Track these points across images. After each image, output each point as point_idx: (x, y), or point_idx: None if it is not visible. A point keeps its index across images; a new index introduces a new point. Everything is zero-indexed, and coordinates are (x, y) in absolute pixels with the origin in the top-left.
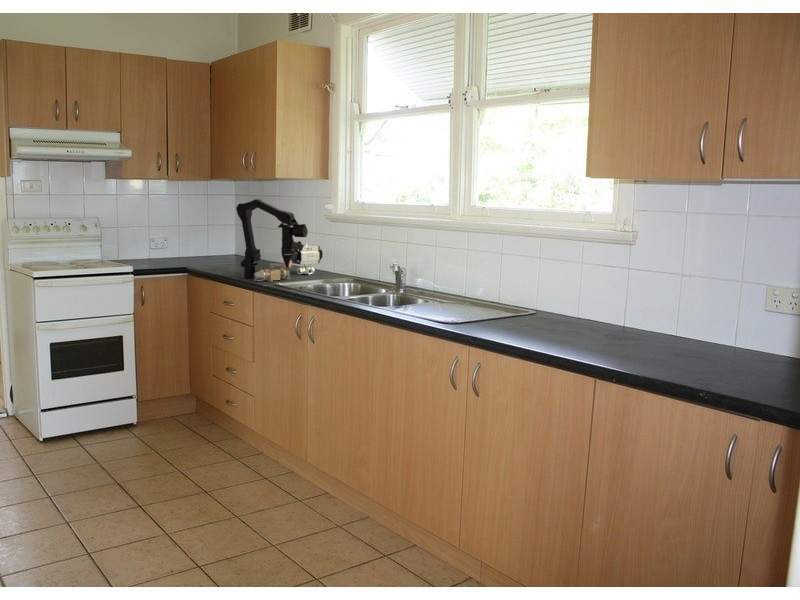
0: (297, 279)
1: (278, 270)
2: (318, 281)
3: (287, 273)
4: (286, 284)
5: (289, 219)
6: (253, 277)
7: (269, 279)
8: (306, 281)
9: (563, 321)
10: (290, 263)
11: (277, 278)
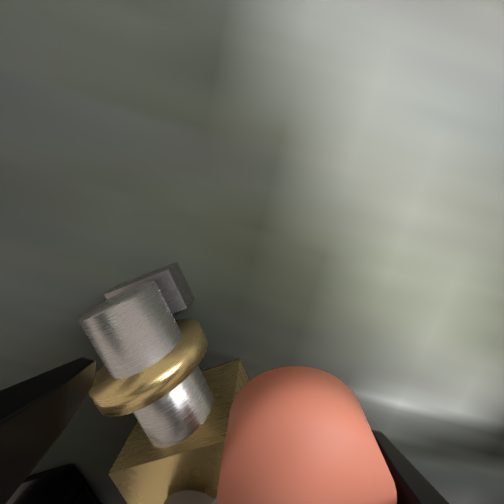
0: (190, 198)
1: None
2: (397, 8)
3: (166, 313)
4: (476, 373)
5: None
6: (89, 497)
7: None
8: (354, 150)
9: None
10: (378, 455)
11: None
